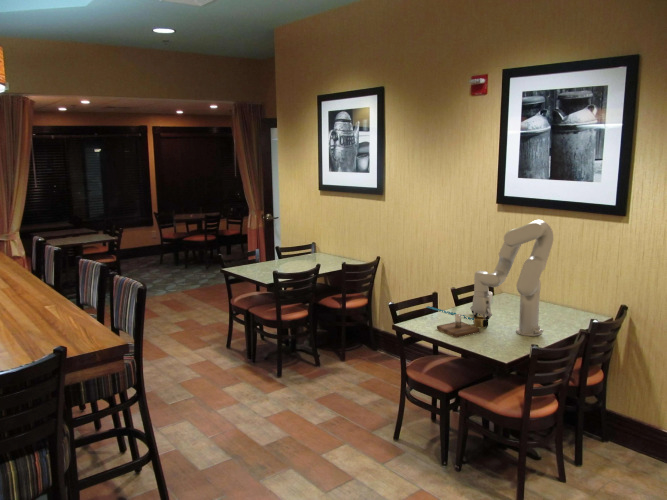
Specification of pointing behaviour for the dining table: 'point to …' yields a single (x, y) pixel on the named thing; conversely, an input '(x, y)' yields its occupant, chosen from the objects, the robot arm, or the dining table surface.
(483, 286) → the robot arm
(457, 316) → the steel post
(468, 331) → the walnut board
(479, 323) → the brass ring
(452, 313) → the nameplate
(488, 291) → the foam cup
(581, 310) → the dining table surface
